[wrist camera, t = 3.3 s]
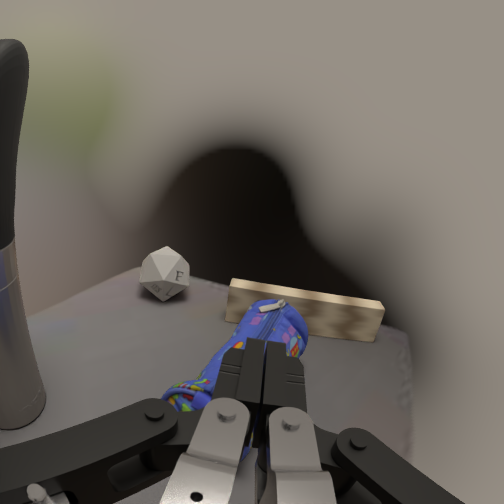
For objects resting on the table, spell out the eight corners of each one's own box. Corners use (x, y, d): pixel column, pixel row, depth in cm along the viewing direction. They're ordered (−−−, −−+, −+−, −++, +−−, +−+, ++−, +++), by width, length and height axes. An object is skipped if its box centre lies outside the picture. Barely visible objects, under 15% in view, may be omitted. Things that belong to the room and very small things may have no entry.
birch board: (224, 321, 48) (229, 285, 46) (227, 312, 51) (232, 278, 49) (373, 342, 47) (385, 309, 46) (369, 332, 50) (379, 301, 48)
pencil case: (245, 341, 44) (255, 280, 41) (303, 360, 41) (320, 298, 38) (153, 446, 24) (147, 373, 21) (238, 486, 22) (256, 421, 19)
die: (134, 306, 49) (165, 272, 45) (127, 264, 53) (155, 229, 50) (174, 313, 55) (207, 282, 51) (164, 274, 59) (194, 242, 56)
